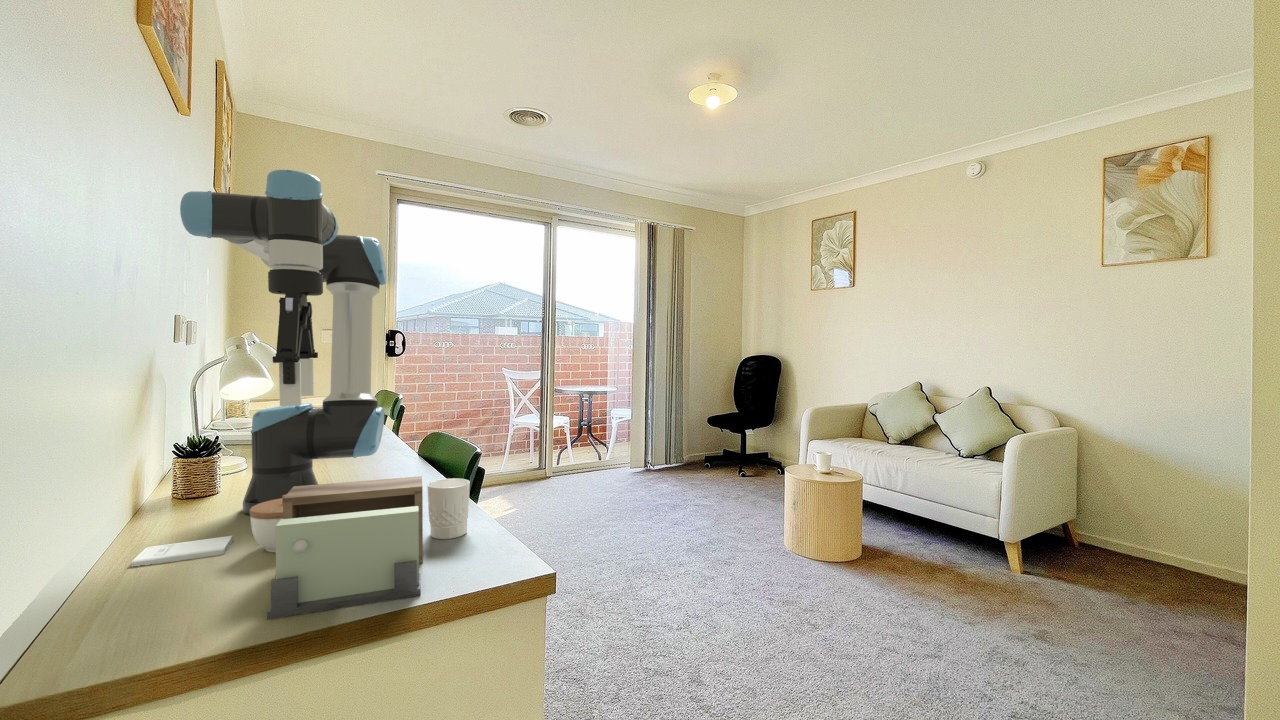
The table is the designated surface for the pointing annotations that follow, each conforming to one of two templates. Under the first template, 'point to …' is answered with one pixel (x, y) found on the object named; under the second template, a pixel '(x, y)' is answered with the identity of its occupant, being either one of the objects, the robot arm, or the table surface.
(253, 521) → the lidded jar
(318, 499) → the cabinet
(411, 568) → the clip rail
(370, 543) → the door panel
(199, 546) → the external hard drive
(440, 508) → the white cup
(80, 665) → the table surface
